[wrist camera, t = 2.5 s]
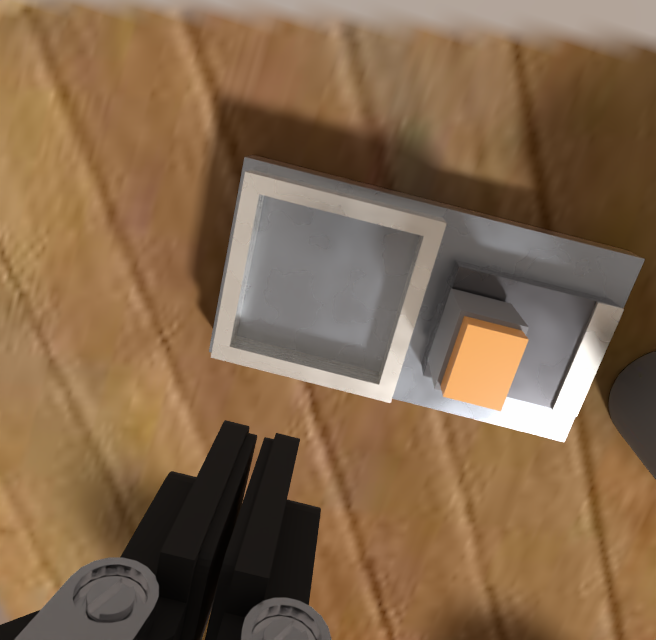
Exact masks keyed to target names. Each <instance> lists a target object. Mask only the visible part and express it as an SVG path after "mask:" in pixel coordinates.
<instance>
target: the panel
mask: <svg viewBox="0 0 656 640" xmlns="http://www.w3.org/2000/svg"><path fill="white" fill-rule="evenodd" d="M644 260H645V259H644V258H642V257H640V256H638V255H636V254H634V253H632V252H630V251H628V250H625V249H621V248H617V247H613V246H609V245H605V244H601V243H598V242H594V241H590V240H586V239H582V238H578V237H574V236H570V235H566V234H562V233H558V232H554V231H550V230H547V229H543V228H539V227H535V226H531V225H527V224H523V223H519V222H515V221H511V220H507V219H503V218H500V217H496V216H492V215H488V214H484V213H480V212H476V211H472V210H468V209H464V208H460V207H456V206H452V205H449V204H445V203H441V202H437V201H433V200H429V199H425V198H421V197H417V196H413V195H409V194H405V193H402V192H398V191H394V190H390V189H386V188H382V187H378V186H374V185H370V184H366V183H362V182H358V181H354V180H351V179H347V178H343V177H339V176H335V175H331V174H327V173H323V172H319V171H315V170H311V169H307V168H303V167H300V166H296V165H292V164H288V163H284V162H280V161H276V160H272V159H268V158H264V157H260V156H256V155H250V156H246V157H244V163H243V168H242V173H241V179H240V184H239V190H238V195H237V201H236V206H235V212H234V217H233V223H232V228H231V234H230V239H229V245H228V250H227V256H226V261H225V267H224V272H223V277H222V283H221V288H220V294H219V299H218V305H217V310H216V316H215V321H214V327H213V332H212V338H211V343H210V349H209V352H212V354H211V358H215V359H219V360H223V361H227V362H231V363H235V364H239V365H243V366H247V367H251V368H255V369H259V370H262V371H266V372H270V373H274V374H278V375H282V376H286V377H290V378H294V379H298V380H302V381H306V382H310V383H314V384H318V385H321V386H325V387H329V388H333V389H337V390H341V391H345V392H349V393H353V394H357V395H361V396H365V397H369V398H373V399H377V400H380V401H384V402H388V403H391V400H392V398H393V399H397V400H400V401H404V402H408V403H412V404H416V405H420V406H424V407H428V408H432V409H436V410H440V411H444V412H448V413H452V414H456V415H459V416H463V417H467V418H471V419H475V420H479V421H483V422H487V423H491V424H495V425H499V426H503V427H507V428H511V429H515V430H518V431H522V432H526V433H530V434H534V435H538V436H542V437H546V438H550V439H554V440H558V441H562V442H565V439H566V437H567V435H568V433H569V430H570V428H571V426H572V423H573V421H574V419H575V417H576V416H577V415H578V413H579V410H580V408H581V406H582V404H583V401H584V399H585V397H586V395H587V392H588V390H589V388H590V386H591V383H592V381H593V379H594V377H595V374H596V372H597V370H598V368H599V365H600V363H601V361H602V358H603V356H604V354H605V352H606V349H607V347H608V345H609V343H610V340H611V338H612V336H613V334H614V331H615V329H616V327H617V325H618V322H619V320H620V318H621V316H622V313H623V311H624V309H623V308H624V306H625V303H626V301H627V299H628V297H629V294H630V292H631V290H632V288H633V285H634V283H635V281H636V278H637V276H638V274H639V272H640V269H641V267H642V265H643V263H644ZM451 288H452V289H456V290H460V291H464V292H468V293H472V294H475V295H479V296H483V297H487V298H491V299H495V300H499V301H503V302H507V303H511V304H512V305H513V307H514V308H515V309H516V311H517V312H518V313H519V315H520V316H521V317H522V319H523V320H524V321H525V323H526V324H527V325H528V327H529V329H528V331H527V334H526V336H527V338H528V339H529V340H528V343H527V345H526V348H525V351H524V353H523V356H522V358H521V361H520V363H519V366H518V369H517V371H516V374H515V376H514V379H513V381H512V384H511V387H510V389H509V392H508V394H507V397H506V399H505V402H504V405H503V407H502V410H501V411H498V410H494V409H490V408H486V407H482V406H478V405H474V404H470V403H466V402H462V401H458V400H454V399H450V398H446V397H443V394H442V391H441V390H437V389H434V385H433V380H432V376H431V371H430V366H429V362H428V357H429V354H430V351H431V348H432V345H433V342H434V339H435V336H436V333H437V330H438V327H439V324H440V321H441V318H442V315H443V312H444V309H445V306H446V303H447V300H448V296H449V293H450V290H451Z"/></svg>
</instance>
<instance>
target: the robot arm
mask: <svg viewBox="0 0 656 640" xmlns="http://www.w3.org/2000/svg"><path fill="white" fill-rule="evenodd" d="M256 440H257V435H254V434H250V433H249V426H246V425H242V424H238V423H234V422H230V421H226V420H225V421H224V422H223V424H222V426H221V429H220V431H219V433H218V435H217V437H216V439H215V441H214V443H213V445H212V447H211V449H210V451H209V453H208V455H207V457H206V459H205V461H204V463H203V465H202V467H201V469H200V471H199V473H198V476H197V477H193V476H189V475H185V474H181V473H177V472H173V471H171V472H170V473H169V474H168V476H167V477H166V479H165V481H164V482H163V484H162V486H161V487H160V489H159V491H158V493H157V494H156V496H155V498H154V500H153V501H152V503H151V505H150V507H149V508H148V510H147V512H146V514H145V515H144V517H143V519H142V521H141V522H140V524H139V526H138V528H137V529H136V531H135V533H134V535H133V536H132V538H131V540H130V541H129V543H128V545H127V547H126V548H125V550H124V552H123V554H122V555H121V557H120V558H105V559H101V560H96V561H93V562H91V563H89V564H87V565H85V566H83V567H81V568H80V569H79V570H78V571H77V572H75V573H74V574H73V575H72V576H71V577H70V578H69V579H68V580H67V581H66V582H65V583H64V585H63V586H62V587H61V588H60V589H59V590H58V591H57V592H56V594H55V595H54V596H53V597H52V598H51V599H50V600H49V601H48V602H47V604H46V605H45V606H44V607H43V608H42V609H41V610H39V611H36V612H34V613H31V614H28V615H26V616H23V617H20V618H18V619H15V620H12V621H10V622H7V623H4V624H2V625H0V640H202V637H203V634H204V630H205V627H206V624H207V621H208V618H209V615H210V612H211V615H210V619H209V624H208V628H207V633H206V637H205V640H331V636H330V632H329V628H328V626H327V625H326V623H325V621H324V620H323V618H322V616H321V615H320V614H318V613H317V612H316V611H315V610H314V609H313V608H312V607H310V606H309V598H310V590H311V583H312V575H313V567H314V559H315V552H316V544H317V536H318V528H319V521H320V512H321V509H320V508H319V507H315V506H311V505H307V504H303V503H299V502H295V501H291V500H287V496H288V491H289V487H290V482H291V478H292V473H293V469H294V464H295V460H296V455H297V451H298V446H299V442H300V439H299V438H295V437H290V436H286V435H282V434H278V433H276V435H275V438H274V439H270V438H266V437H265V438H264V441H263V444H262V447H261V450H260V453H259V456H258V459H257V462H256V464H255V467H254V470H253V473H252V476H251V479H250V482H249V485H248V488H247V491H246V494H245V497H244V493H245V488H246V484H247V479H248V475H249V471H250V466H251V462H252V457H253V453H254V449H255V444H256ZM243 497H244V500H243ZM242 502H243V503H242ZM211 609H212V610H211Z"/></svg>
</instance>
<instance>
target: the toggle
mask: <svg viewBox="0 0 656 640" xmlns="http://www.w3.org/2000/svg"><path fill="white" fill-rule="evenodd" d="M528 329H529V327H528V325H527V324H526V323H525V321H524V320H523V319H522V317H521V316H520V315H519V313H518V312H517V311H516V309H515V308H514V307H513V305H512V304H511V303H507V302H503V301H499V300H495V299H491V298H487V297H483V296H479V295H475V294H472V293H468V292H464V291H460V290H456V289H452V288H451V290H450V293H449V296H448V300H447V303H446V306H445V309H444V312H443V315H442V318H441V321H440V324H439V327H438V330H437V333H436V336H435V339H434V342H433V345H432V348H431V351H430V354H429V357H428V362H429V366H430V371H431V376H432V380H433V385H434V389H437V390H441V391H442V394H443V397H446V398H450V399H454V400H458V401H462V402H466V403H470V404H474V405H478V406H482V407H486V408H490V409H494V410H498V411H501V410H502V407H503V405H504V402H505V399H506V397H507V394H508V392H509V389H510V387H511V384H512V381H513V379H514V376H515V374H516V371H517V369H518V366H519V363H520V361H521V358H522V356H523V353H524V351H525V348H526V345H527V343H528V340H529V339H528V338H527V336H526V334H527V331H528Z"/></svg>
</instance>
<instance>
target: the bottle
mask: <svg viewBox="0 0 656 640" xmlns="http://www.w3.org/2000/svg"><path fill="white" fill-rule="evenodd" d="M609 412H610V416H611V419H612V421H613V423H614V425H615V427H616V428H617V430H618V431H619V433H620V434H621V435H622V437H623V438H624V439H625V440H626V442H627V443H628V444H629V446H630V447H631V448H632V450H633V451H634V452H635V453H636V455H637V456H638V457H639V459H640V460H641V461H642V463H643V464H644V465H645V467H646V468H647V469H648V470H649V472H650V473H651V474H652V475H653V477H654V478H655V479H656V351H654V352H651V353H649V354H646V355H644V356H642V357H640V358H638V359H636V360H635V361H634V362H632V363H631V364H630V365H628V366H627V367H626V368H625V369H624V370H623V371H622V372H621V373H620V374H619V376H618V377H617V379H616V380H615V382H614V384H613V386H612V389H611V392H610V396H609Z"/></svg>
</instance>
